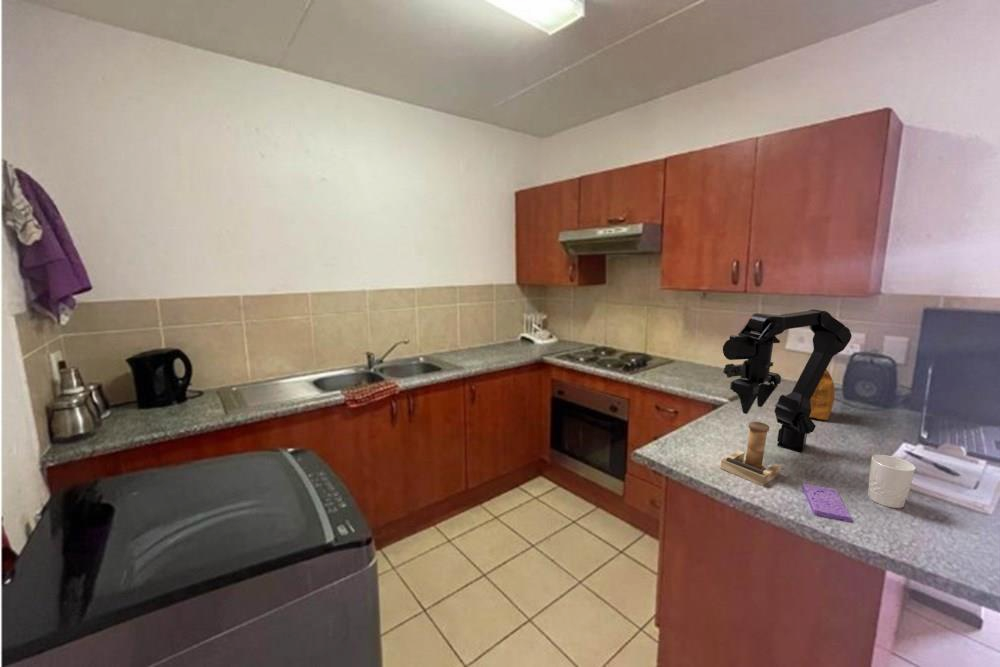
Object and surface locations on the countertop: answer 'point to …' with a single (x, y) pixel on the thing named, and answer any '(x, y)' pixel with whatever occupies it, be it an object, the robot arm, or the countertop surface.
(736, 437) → the countertop surface
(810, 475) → the countertop surface
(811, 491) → the sponges
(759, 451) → the bobbin
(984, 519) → the countertop surface
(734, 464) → the wooden tray
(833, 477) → the countertop surface
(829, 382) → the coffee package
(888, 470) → the white cup
